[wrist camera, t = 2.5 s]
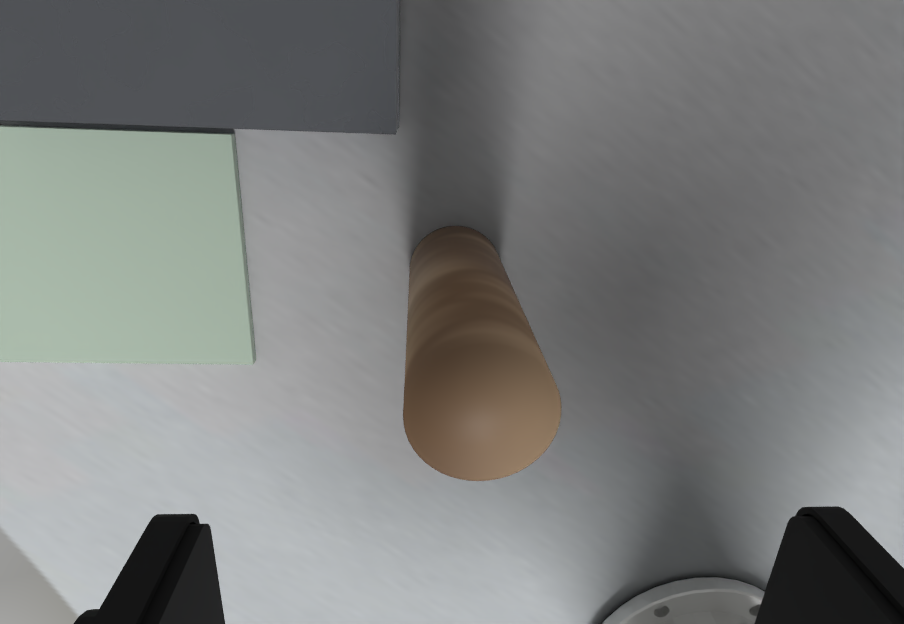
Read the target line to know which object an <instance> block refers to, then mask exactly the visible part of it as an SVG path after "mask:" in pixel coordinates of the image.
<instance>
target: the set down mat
mask: <svg viewBox="0 0 904 624" xmlns="http://www.w3.org/2000/svg"><path fill="white" fill-rule="evenodd" d="M255 361H256V354H255V344H254V333H253V323H252V312H251V301H250V291H249V280H248V269H247V259H246V248H245V238H244V227H243V216H242V206H241V195H240V184H239V174H238V163H237V153H236V142H235V134H233V133H205V132H176V131H148V130H120V129H91V128H63V127H34V126H6V125H0V362H51V363H143V364H235V365H253V364H254V362H255Z"/></svg>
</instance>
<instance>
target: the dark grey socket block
mask: <svg viewBox="0 0 904 624" xmlns="http://www.w3.org/2000/svg"><path fill="white" fill-rule="evenodd" d="M399 47H400V0H0V120H7V121H35V122H63V123H91V124H119V125H147V126H175V127H203V128H231V129H259V130H287V131H315V132H343V133H372V134H396V133H397V130H398V128H399Z"/></svg>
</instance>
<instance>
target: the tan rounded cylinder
mask: <svg viewBox="0 0 904 624" xmlns="http://www.w3.org/2000/svg"><path fill="white" fill-rule="evenodd" d="M560 418H561V399H560V395H559V391H558V388H557V386H556V383H555V381H554V379H553V377H552V374H551V372H550V370H549V368H548V365H547V363H546V361H545V359H544V356H543V354H542V352H541V350H540V348H539V345H538V343H537V341H536V339H535V336H534V334H533V332H532V330H531V327H530V325H529V323H528V321H527V318H526V316H525V314H524V312H523V310H522V307H521V305H520V303H519V301H518V298H517V296H516V294H515V292H514V289H513V287H512V285H511V283H510V280H509V278H508V276H507V274H506V272H505V269H504V267H503V265H502V263H501V260H500V258H499V256H498V254H497V251H496V249H495V248H494V246H493V244H492V243H491V242H490V241H489V240H488V239H487V238H486V237H485V236H484V235H483V234H481V233H480V232H478V231H476V230H474V229H471V228H468V227H463V226H449V227H444V228H441V229H438V230H436V231H433V232H432V233H430V234H429V235H427V236H426V237H425V238H424V239H423V240H422V241H421V242H420V243H419V244H418V246H417V247H416V249H415V251H414V253H413V255H412V258H411V262H410V275H409V297H408V320H407V342H406V364H405V387H404V409H403V420H404V427H405V432H406V435H407V438H408V440H409V442H410V444H411V446H412V448H413V449H414V450H415V452H416V453H417V454H418V456H419V457H420V458H421V459H422V460H423V461H424V462H425V463H427V464H428V465H429V466H431V467H432V468H434V469H435V470H437V471H439V472H441V473H443V474H446V475H448V476H451V477H454V478H458V479H463V480H470V481H486V480H494V479H499V478H503V477H506V476H509V475H512V474H514V473H517V472H519V471H520V470H522V469H524V468H526V467H527V466H529V465H530V464H532V463H533V462H534V461H535V460H537V459H538V458H539V457H540V456H541V455H542V454H543V453H544V452H545V451H546V449H547V448H548V447H549V445H550V444H551V442H552V441H553V439H554V437H555V435H556V433H557V430H558V427H559V423H560Z"/></svg>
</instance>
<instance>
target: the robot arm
mask: <svg viewBox="0 0 904 624" xmlns="http://www.w3.org/2000/svg"><path fill="white" fill-rule="evenodd" d="M74 624H225V620H224V614H223V607H222V600H221V594H220V587H219V581H218V574H217V567H216V561H215V554H214V548H213V541H212V534H211V529H210V526H209V524H200V523H199V519H198V517H197V516H196V515H195V514H157V515H156V516H154V517H153V518H152V519H151V521H150V522H149V524H148V526H147V527H146V529H145V531H144V533H143V534H142V536H141V538H140V539H139V541H138V543H137V545H136V546H135V548H134V550H133V552H132V553H131V555H130V557H129V559H128V560H127V562H126V564H125V566H124V567H123V569H122V571H121V572H120V574H119V576H118V578H117V579H116V581H115V583H114V585H113V586H112V588H111V590H110V592H109V593H108V595H107V597H106V599H105V600H104V602H103V604H102V605H101V607H100V609H93V610H87V611H85V612H84V613H83V614H82V615H80V616H79V617H78V618H77V620H76V621H75V623H74ZM602 624H904V568H903V567H902V566H901V565H900V564H899V563H898V562H897V561H896V560H895V559H894V558H893V557H892V556H891V555H890V554H889V553H888V552H887V551H886V550H885V549H884V548H883V547H882V546H881V545H880V544H879V543H878V542H877V541H876V540H875V539H874V538H873V537H872V536H871V535H870V534H869V533H868V532H867V531H866V529H865V528H864V527H863V526H862V525H861V524H860V523H859V522H858V521H857V520H856V519H855V518H854V517H853V516H852V515H851V514H850V513H849V512H847V511H846V510H845V509H843V508H841V507H803V508H801V509H800V510H798V512H797V514H796V516H794V517H792V518H790V520H789V522H788V524H787V527H786V530H785V533H784V536H783V539H782V542H781V545H780V548H779V551H778V554H777V557H776V560H775V563H774V566H773V569H772V572H771V575H770V578H769V581H768V584H767V587H766V590H765V592H764V591H762V590H761V589H759V588H757V587H755V586H753V585H750V584H747V583H744V582H741V581H738V580H732V579H725V578H718V577H710V578H691V579H685V580H678V581H674V582H671V583H667V584H664V585H661V586H657V587H655V588H652V589H650V590H648V591H646V592H644V593H642V594H639V595H637V596H636V597H634V598H632V599H631V600H629V601H628V602H626V603H625V604H623V605H622V606H620V607H619V608H618V609H617V610H616V611H614V612H613V613H612V614H611V615H610V616H609V617H608V618H607V619H606V620H605V621H604V622H603V623H602Z"/></svg>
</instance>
